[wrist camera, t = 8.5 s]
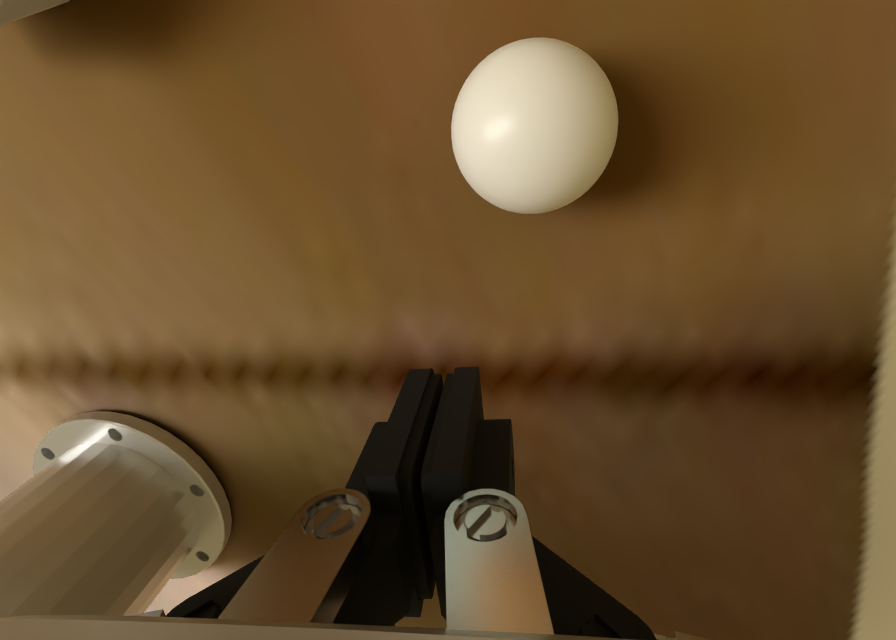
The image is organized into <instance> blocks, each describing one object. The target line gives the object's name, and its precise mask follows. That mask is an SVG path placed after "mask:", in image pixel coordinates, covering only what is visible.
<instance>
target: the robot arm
mask: <svg viewBox="0 0 896 640" xmlns="http://www.w3.org/2000/svg"><path fill="white" fill-rule="evenodd" d="M33 471H34V477H32V478H31V479H30V480H28V481H27V482H26V483H24V484H23V485H22V486H20V487H19V488H18V489H16V490H15V491H14V492H12V493H11V494H10V495H8V496H7V497H6V498H4V499H3V500H2V501H0V640H709V639H705V638H701V637H697V636H693V635H689V634H685V633H681V632H677V631H675V637H674V639H673V638H669V637H665V636H661V635H657V634H653V632H652V631H651V629H650V628H649V627H648V626H647V625H646V624H645V623H644V622H643V621H642V620H641V619H640V618H639V617H638V616H637V615H636V614H634V613H633V612H632V611H630V610H629V609H628V608H626V607H625V606H624V605H622V604H621V603H620V602H618V601H617V600H616V599H614V598H613V597H612V596H610V595H609V594H608V593H606V592H605V591H604V590H603V589H601V588H600V587H599V586H597V585H596V584H595V583H593V582H592V581H591V580H589V579H588V578H587V577H585V576H584V575H583V574H581V573H580V572H579V571H577V570H576V569H575V568H573V567H572V566H571V565H570V564H568V563H567V562H566V561H564V560H563V559H562V558H560V557H559V556H558V555H556V554H555V553H554V552H552V551H551V550H550V549H548V548H547V547H546V546H544V545H543V544H542V543H540V542H539V541H538V540H537V539H535V538H534V537H533V536H531V532H530V528H529V524H528V519H527V515H526V512H525V509H524V507H523V505H522V503H521V502H520V501H519V500H518V499H517V498H516V497H515V472H514V450H513V436H512V424H511V419H496V420H484V416H483V406H482V395H481V384H480V374H479V368H478V367H462V368H455V371H454V374H447V375H446V379H445V383H444V387H443V380H442V375H441V374H434V371H433V369H410V370H409V372H408V374H407V377H406V379H405V381H404V384H403V386H402V389H401V391H400V393H399V396H398V398H397V401H396V403H395V405H394V408H393V410H392V412H391V415H390V417H389V420H388V422H377V423H375V425H374V426H373V429H372V431H371V433H370V435H369V437H368V439H367V442H366V444H365V446H364V448H363V450H362V453H361V455H360V457H359V459H358V461H357V464H356V466H355V468H354V470H353V472H352V474H351V477H350V479H349V481H348V483H347V485H346V488H345V489H335V490H331V491H326V492H324V493H322V494H319V495H317V496H315V497H313V498H312V499H310V500H309V501H307V502H306V503H305V504H304V505H303V506H302V507H301V508H300V509H299V510H298V511H297V513H296V514H295V515H294V517H293V518H292V519H291V521H290V522H289V523H288V525H287V526H286V527H285V529H284V530H283V531H282V533H281V534H280V536H279V537H278V538H277V540H276V541H275V542H274V544H273V545H272V546H271V548H270V549H269V550H268V552H267V553H266V554H265V555H264V556H262V557H260V558H258V559H257V560H255V561H253V562H251V563H250V564H248V565H246V566H244V567H242V568H241V569H239V570H237V571H235V572H234V573H232V574H230V575H228V576H227V577H225V578H223V579H221V580H220V581H218V582H216V583H214V584H212V585H211V586H209V587H207V588H205V589H204V590H202V591H200V592H198V593H197V594H195V595H193V596H191V597H190V598H188V599H186V600H185V601H183V602H182V603H180V604H179V605H177V606H176V607H175V608H173V609H172V610H171V611H170V612H169V613H168V614H167V615H165V613H164V611H163V610H157V611H151V612H146V613H144V612H145V611H146V609H147V608H148V607H149V605H150V604H151V603H152V602H153V600H154V599H155V598H156V596H157V595H158V594H159V592H160V591H161V590H162V588H163V587H164V586H165V585H166V583H167V582H168V581H169V579H176V578H184V577H188V576H192V575H196V574H198V573H200V572H201V571H203V570H205V569H207V568H208V567H209V566H210V565H211V564H212V563H213V562H214V561H215V560H216V559H217V558H218V556H219V555H220V553H221V552H222V550H223V549H224V548H225V546H226V545H227V542H228V539H229V537H230V534H231V525H232V517H231V511H230V505H229V502H228V500H227V497H226V495H225V492H224V489H223V487H222V486H221V484H220V482H219V481H218V479H217V478H216V476H215V474H214V473H213V471H212V470H211V469H210V468H209V467H208V465H207V464H206V463H205V462H204V461H203V459H202V458H201V457H200V456H199V455H197V454H196V453H195V452H194V451H193V450H192V449H191V448H190V447H189V446H188V445H186V444H185V443H184V442H182V441H181V440H179V439H178V438H177V437H175V436H174V435H172V434H171V433H169V432H168V431H166V430H164V429H162V428H160V427H158V426H156V425H154V424H152V423H150V422H147V421H145V420H142V419H139V418H136V417H133V416H130V415H126V414H121V413H115V412H105V411H92V412H86V413H81V414H77V415H75V416H72V417H70V418H68V419H66V420H64V421H63V422H61V423H60V424H58V425H57V426H56V427H54V428H53V429H51V430H50V431H48V432H47V433H46V434H45V436H44V437H43V438H42V439H41V440H40V442H39V444H38V446H37V449H36V451H35V454H34V464H33ZM435 582H436V585H437V591H438V597H439V602H440V608H441V615H442V616H443V617H444V618H445V619H446V621H447V629H438V628H418V627H396V626H395V623H397V622H398V621H399V620H401V619H402V618H403V617H405V616H406V617H420V616H421V611H422V605H423V600H424V599H432V597H433V593H434V587H435Z"/></svg>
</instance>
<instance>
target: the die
mask: <svg viewBox="0 0 896 640" xmlns="http://www.w3.org/2000/svg"><path fill="white" fill-rule="evenodd" d="M69 1H70V0H0V26H3V25H5V24H8V23H11V22H14V21H17V20H19V19H22V18H25V17H28V16H30V15H33V14H36V13H39V12H41V11H44V10H47V9H50V8H53V7H55V6H58V5H61V4H64V3H66V2H69Z"/></svg>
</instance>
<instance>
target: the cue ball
mask: <svg viewBox="0 0 896 640" xmlns="http://www.w3.org/2000/svg"><path fill="white" fill-rule="evenodd" d="M451 132H452V146H453V151H454V155H455V158H456V161H457V164H458V166H459V168H460V171H461V173H462V174H463V176H464V178H465V179H466V181H467V182H468V183H469V184H470V186H471V187H472V188H473V189H474V190H475V191H476V192H477V193H478V194H479V195H480V196H481V197H482V198H484V199H485V200H487V201H488V202H490V203H491V204H493V205H495V206H497V207H499V208H501V209H504V210H507V211H511V212H516V213H525V214H538V213H544V212H549V211H553V210H556V209H559V208H561V207H564V206H566V205H568V204H569V203H571V202H573V201H575V200H576V199H578V198H579V197H580V196H582V195H583V194H584V193H585V192H586V191H588V190H589V189H590V188H591V187H592V186H593V184H594V183H595V182H596V181H597V180H598V178H599V177H600V176H601V174H602V173H603V171H604V169H605V168H606V166H607V164H608V162H609V160H610V158H611V155H612V153H613V150H614V147H615V143H616V138H617V132H618V108H617V103H616V98H615V95H614V92H613V89H612V86H611V84H610V82H609V80H608V78H607V76H606V74H605V73H604V72H603V70H602V69H601V68H600V66H599V65H598V64H597V62H596V61H595V60H593V59H592V58H591V57H590V56H589V55H588V54H587V53H585V52H584V51H582V50H581V49H579V48H578V47H576V46H573V45H571V44H569V43H567V42H564V41H561V40H557V39H552V38H529V39H523V40H518V41H515V42H512V43H509V44H507V45H505V46H503V47H501V48H499V49H497V50H496V51H494V52H493V53H491V54H490V55H488V56H487V57H486V58H485V59H484V60H482V61H481V62H480V63H479V64H478V65H477V67H476V68H475V69H474V70H473V71H472V72H471V74H470V75H469V77H468V78H467V79H466V81H465V83H464V85H463V87H462V89H461V90H460V92H459V95H458V98H457V100H456V103H455V107H454V111H453V116H452V124H451Z"/></svg>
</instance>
